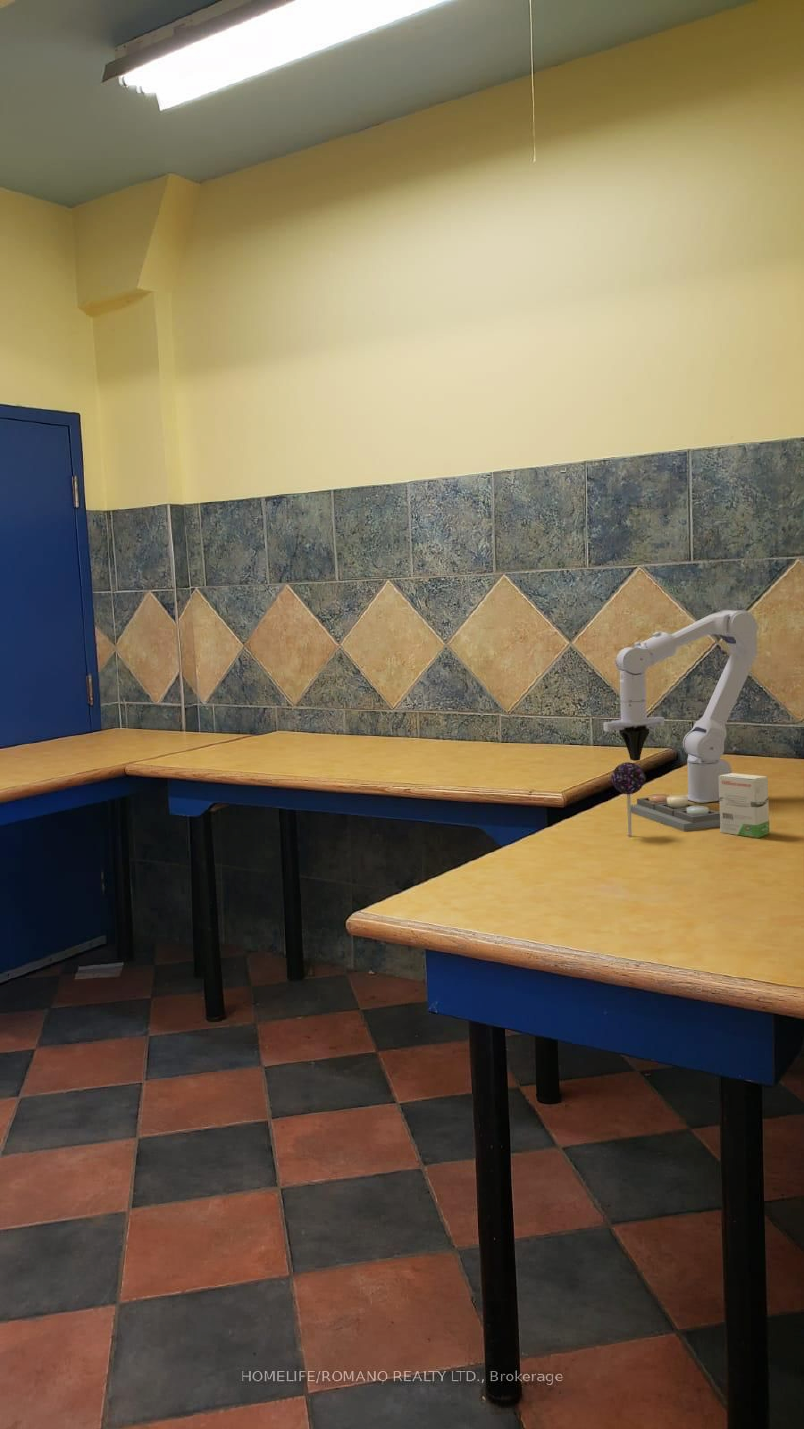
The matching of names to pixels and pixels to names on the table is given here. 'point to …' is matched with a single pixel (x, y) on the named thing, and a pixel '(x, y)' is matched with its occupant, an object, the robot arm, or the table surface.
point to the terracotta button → (658, 798)
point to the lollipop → (628, 783)
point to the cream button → (677, 801)
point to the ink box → (744, 805)
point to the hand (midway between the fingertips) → (635, 760)
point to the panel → (675, 815)
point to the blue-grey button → (697, 810)
